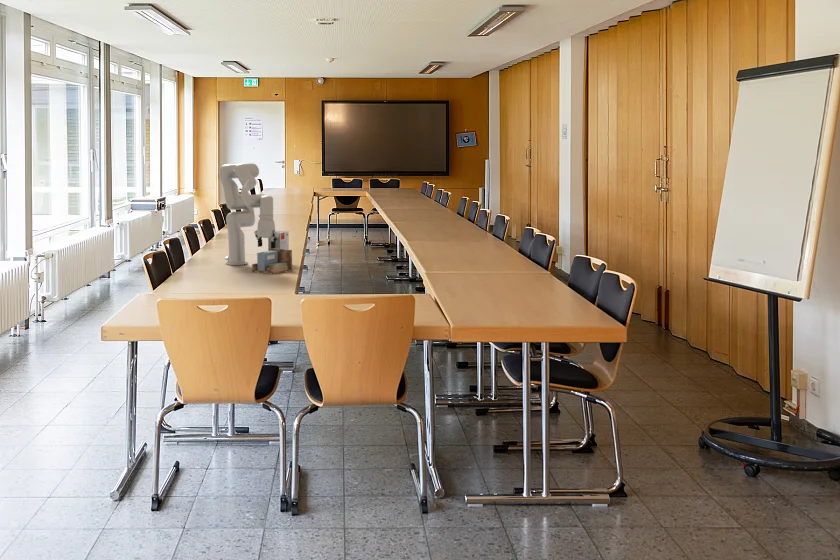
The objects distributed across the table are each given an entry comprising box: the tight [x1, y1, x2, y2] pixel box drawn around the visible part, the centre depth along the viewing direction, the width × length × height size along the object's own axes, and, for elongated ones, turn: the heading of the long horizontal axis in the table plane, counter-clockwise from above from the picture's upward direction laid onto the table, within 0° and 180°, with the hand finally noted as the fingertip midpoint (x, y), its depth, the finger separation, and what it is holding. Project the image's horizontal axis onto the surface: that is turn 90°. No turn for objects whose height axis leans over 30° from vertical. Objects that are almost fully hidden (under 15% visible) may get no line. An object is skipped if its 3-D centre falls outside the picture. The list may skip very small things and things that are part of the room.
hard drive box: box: [267, 230, 290, 251], centre depth 526 cm, size 16×8×20 cm, turn 168°
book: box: [256, 250, 278, 271], centre depth 503 cm, size 5×12×10 cm, turn 151°
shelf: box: [251, 248, 293, 275], centre depth 502 cm, size 16×16×12 cm
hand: (266, 247), depth 502 cm, fingers open, 9 cm apart
